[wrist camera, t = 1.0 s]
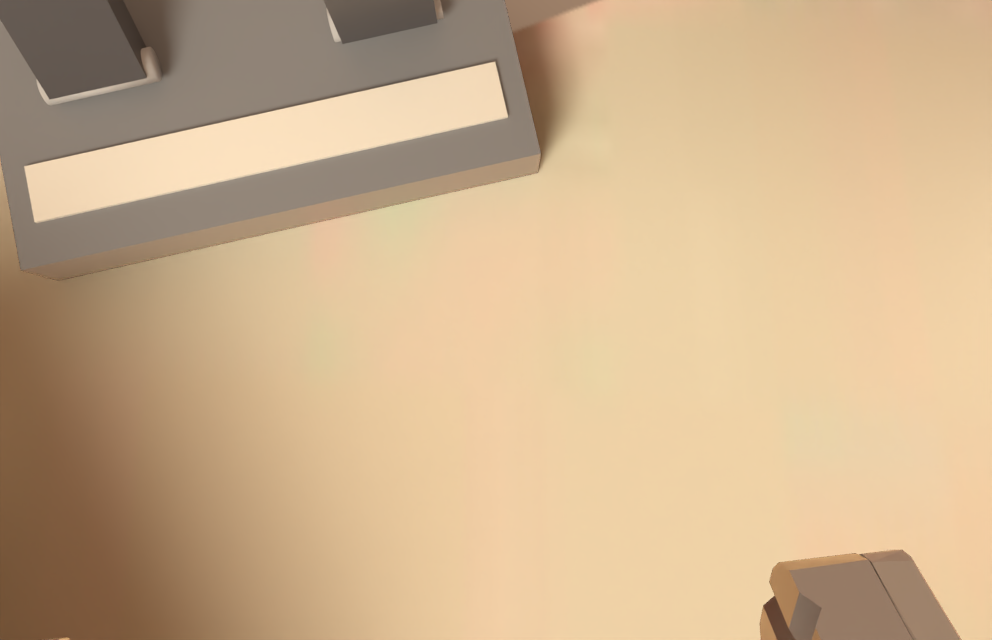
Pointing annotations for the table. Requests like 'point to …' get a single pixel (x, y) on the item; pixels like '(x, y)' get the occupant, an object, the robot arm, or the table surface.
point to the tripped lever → (379, 17)
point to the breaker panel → (258, 130)
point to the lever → (79, 47)
